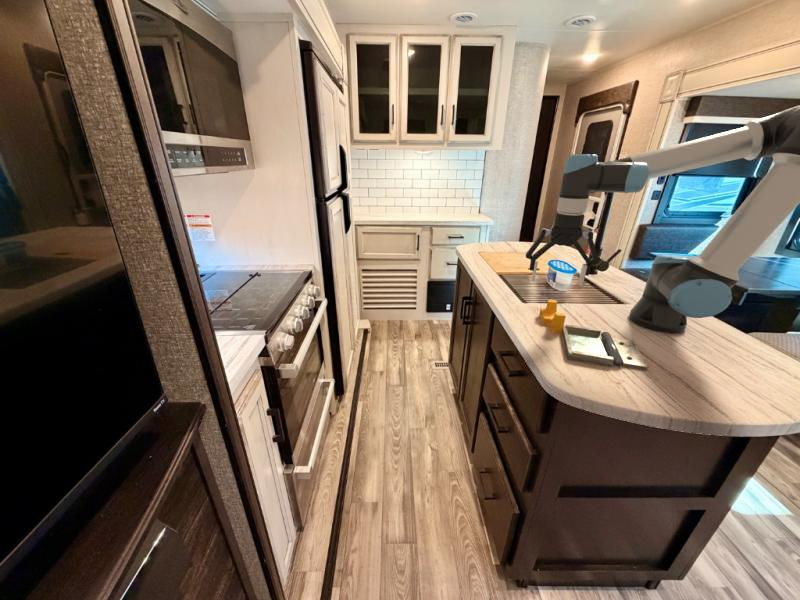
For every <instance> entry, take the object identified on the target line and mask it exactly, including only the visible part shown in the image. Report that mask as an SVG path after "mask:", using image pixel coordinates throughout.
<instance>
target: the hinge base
mask: <svg viewBox="0 0 800 600" xmlns="http://www.w3.org/2000/svg"><path fill="white" fill-rule="evenodd" d="M561 336H562V340H563V346H564V351H565V354H566V359H567V360H568V361H574V362H581V363H585V364H591V365H597V366H603V367H608V368H612V366H615V367H626V368H632V369H637V370H642V371H643V370H644V371H648V369H649V366H648V364H647V362H646V361H645V358H644V357H643V356H642V355H641V353H640V351H639V349H638V348H637V345H636V344H635V342H634V340H630V339H623V338H617V337H612V335H611V334H610V332H608V331H603V332H602V330H601V329H600V328H594V327H593V328H592V327H586V326H579V325H571V324H564V326H563V330H562V334H561Z"/></svg>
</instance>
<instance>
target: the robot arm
mask: <svg viewBox="0 0 800 600" xmlns="http://www.w3.org/2000/svg"><path fill="white" fill-rule="evenodd" d="M767 157H769V158H771V157H772V159H773V163H774V164H773V166H772V167H771V168H770V169H769V171H768V172H767V173H766V174H765V175H764V176H763V178H762V179H761V180H760V181H759V182H758V184H757V185H756V186H755V187H754V189H753V190H752V191H751V192H750V193H749V195H748V196H747V197H746V198H745V199H744V201H743V202H742V203H741V204H740V206H738V208H737V209H736V211H735V212H733V214H732V216H730V217H729V219H728V220H727V221H726V223H724V224H723V226H722V227H721V229H719V231H718V232H717V233H716V235H714V237H713V238H712V239H711V241H709V243H708V244H707V245H706V247H704V249H703V250H702V251H701V253H700V254H699V255H696V256H687V255H679V254H677V255H676V254H658V255H657V256H655V258H654V261H653V262H652V264H651V268H650V272H649V275H648V277H647V281H646V283H645V286H644V289H643V293H642V296H641V298H640V299H638V301H637V302H636V304H634V306H633V307H632V308H631V310H630V313H629V315H628V318H629V320H630V321H631V322H632V323H633V324H636V325H637V326H639V327H642V328H643V329H646V330H649V331H653V332H657V333H662V334H670V335H671V334H673V335H674V334H677V335H678V334H681V333H683V332H685V330H686V328H687V325H688V318H693V319H702V318H710V317H714V316H716V315H718V314H720V313H721V312H723V311H725V310H726V309H728V307H729V305H730V304H731V302H732V300H733V296H732V289H733V287H734V286H735V285H736V284H737V283H738V282H739V280H740V276H739V270H740V269H741V268H742V267H743V266H744V264H746V262H747V261H749V259H751V257H752V255H754V253H756V252H757V250H758V249H759V248H760V247H761V246H762V245H763V244H764V242H765V241H766V240H767V239H768V238H770V236H771V235H772V234H773V233H774V232H775V231H776V230H777V228H778V227H780V225H781V224H782V223H783V222H784V221H785V219H787V218H788V216H789V215H790V214H791V213H793V211H794V210H795V209H796V208H797V206H799V204H800V105H796V106H794V107H791V108H787V109H784V110H783V111H779V112H777V113H773V114H771V115H768V116H764V117H761V118H758V119H754V120H750V121H748V122H747V123H746V124H745V125H744V126H743V127H740V128H739V127H738V128H736V129H730V130H728V131H723V132H720V133H715V134H713V135H709V136H704V137H700V138H697V139H693V140H692V139H691V140H689V141H685V142H681V143H677V144H674V145H670V146H666V147H662V148H657V149H654V150H650V151H647V152H643V153H639V154H635V155H631V156H629V157H624V158H618V159H616V160H607V161H605V162H601V161H599V159H598V158H599V157H598V154H595V153H594V154H593V153H592V154H591V153H583V154H580V153H579V154H577V153H576V154H574V153H573V154H571V155H569V156H567V157H566V160H565V165H564V168H563V169H564V170H563V172H562V178H561V184H560V189H559V190H560V191H559V195H558V201H557V207H556V211H557V213H556V214H555V216H554V220H553V221H554V222H553V227H552V229H547V228H545V227H542V228H541V229H540V233H539V235H538V237H536V239H535V240H534V242H533V243H532V245H531V246H530V247H529V249H528V250H527V252H526V253H525V259H528V260H530V263H529V264H530V265H529V270H530V271H532V275H531V282H535V280H536V275H537V268H538V263H539V261H538V260H539V258H540V257H541V256H542V255H544V254H545V253H546V252H547V251H549V250H550V248H552V247H554V246H555V245H558V246H567V247H571V246H574V247H575V248H576V250H577V251H578V253H579V254H580V256H581V257H582V259H583V260H584V262H585V263H582V265H581V270H580V274H579V279H578V286H579V287H583V285H584V281H585V277H586V276H589V275H590V272H591V268H592V266H594V265H599V264H600V258H599V255H598V252H597V249H596V246H595V243H594V232H593V231H592V230H588V231H583V225H584V222H585V214H584V213H586V212H587V207H588V203H589V199H590V194H591V193H593V192H594V193H598V192H599V193H624V194H629V193H631V194H632V193H633V194H634V193H636V194H637V193H640V192H642V190H643V189H644V188H645V186H646V183H647V181H648V180H651V179H655V178H660V177H665V176H669V175H673V174H678V173H681V172H687V171H691V170H696V169H699V168H700V169H701V168H703V167H709V166H713V165H716V164H717V165H718V164H721V163H722V164H723V163H727V162H731V161H735V160H739V159H745V160H747V161H753V160H757V159H762V158H767ZM549 235H550V236H551V239H550V240H549V241H548V242H546V244H544V245H543V246H542V247H541V248H539V249H538V250H537V248H538V247H539V246H540V245H541V243H542V242H543V240H544V239H545V238H546V237H548V236H549ZM582 237H584V239H585V240H586V242H587V245H588V248H589V251H590V254H591V258H592V259H590V258H589V256H588V255H587V253H586V252H585V251H584V249H583V248H582V246H581V245H580V243H579V239H580V238H582ZM536 250H537V251H536ZM535 251H536V252H535Z"/></svg>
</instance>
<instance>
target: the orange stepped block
mask: <svg viewBox="0 0 800 600" xmlns="http://www.w3.org/2000/svg"><path fill="white" fill-rule="evenodd" d="M557 301H558V300H556V299H547V301H546V307H540V311H539V314H538V315H539V319H540V321H541V323H542V325H547V326H549V328H550V330H551V332H552V334H561V335H562V330H563V326H564V325H565V321H566V317H567V316H566V314H565V313H564V312H557V309H558V308H557V307H558V302H557Z"/></svg>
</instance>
